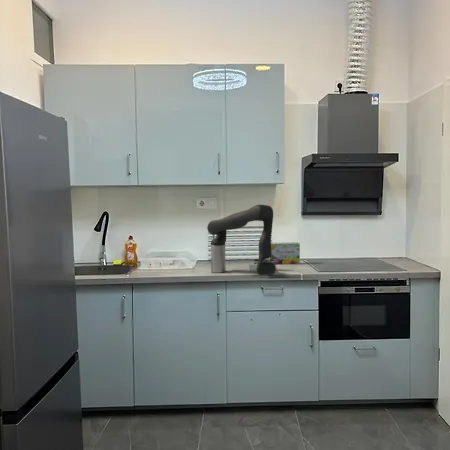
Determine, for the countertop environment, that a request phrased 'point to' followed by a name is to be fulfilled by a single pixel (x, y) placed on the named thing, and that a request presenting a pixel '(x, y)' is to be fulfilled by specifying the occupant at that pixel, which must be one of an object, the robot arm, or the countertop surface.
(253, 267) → the charcoal mat
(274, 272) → the robot arm
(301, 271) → the countertop surface
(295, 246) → the snack box
